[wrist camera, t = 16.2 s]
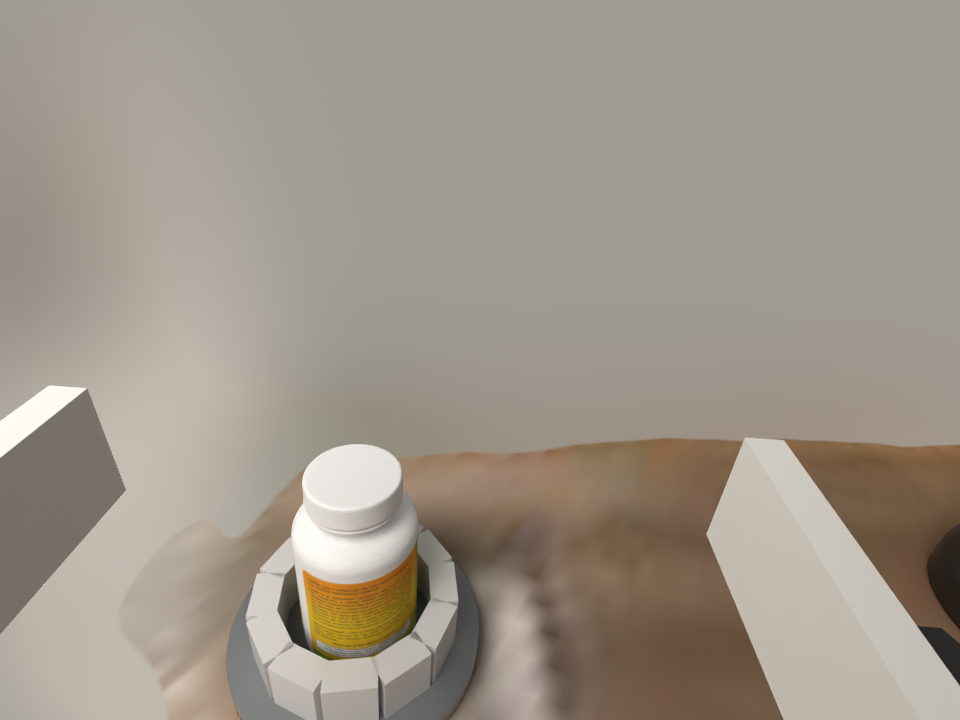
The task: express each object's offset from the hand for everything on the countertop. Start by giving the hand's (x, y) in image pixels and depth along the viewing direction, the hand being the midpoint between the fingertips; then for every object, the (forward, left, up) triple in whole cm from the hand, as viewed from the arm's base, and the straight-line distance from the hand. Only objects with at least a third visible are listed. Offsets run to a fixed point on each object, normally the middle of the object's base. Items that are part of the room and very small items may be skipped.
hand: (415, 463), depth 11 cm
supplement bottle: (+7, -8, -22) cm, 24 cm away
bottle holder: (+8, -8, -23) cm, 26 cm away
